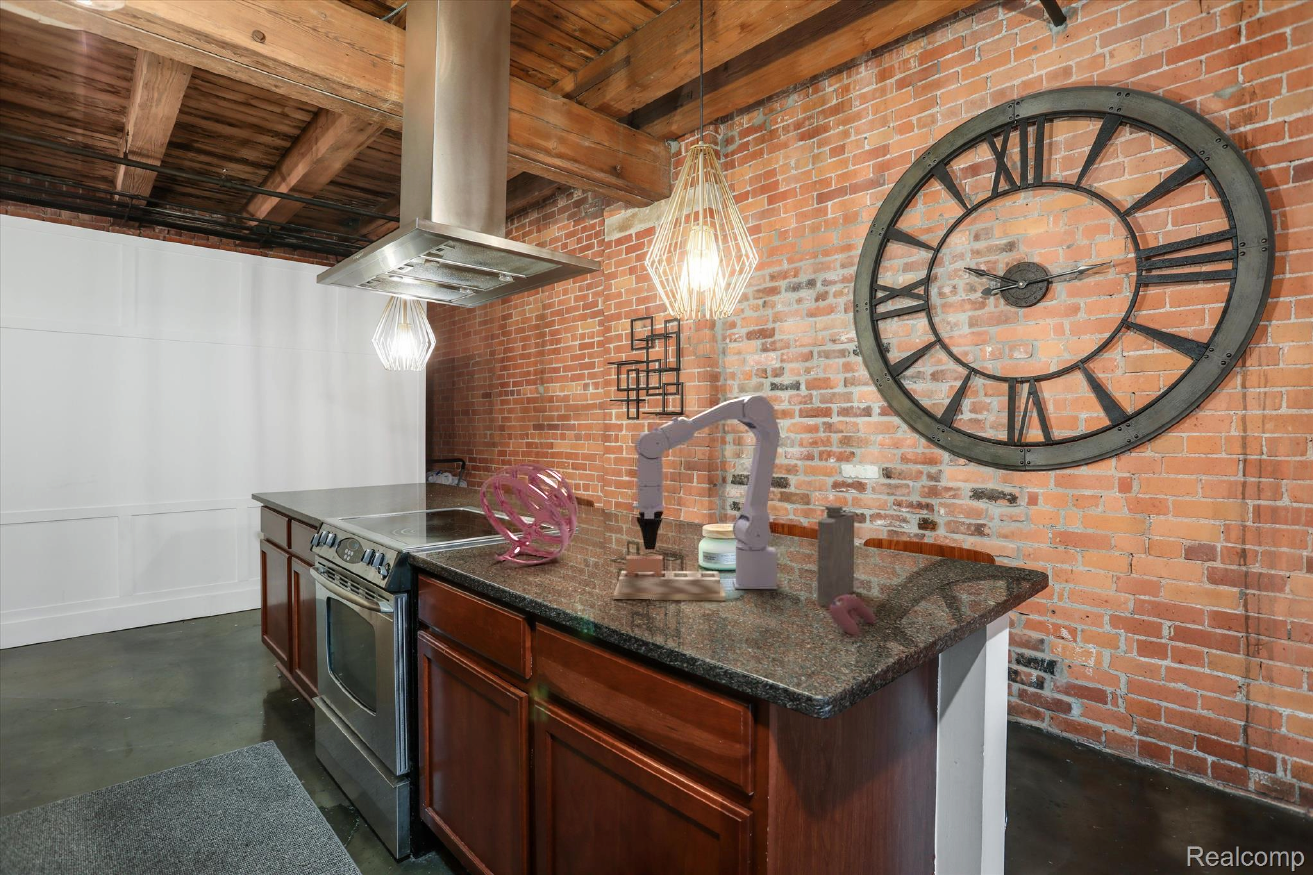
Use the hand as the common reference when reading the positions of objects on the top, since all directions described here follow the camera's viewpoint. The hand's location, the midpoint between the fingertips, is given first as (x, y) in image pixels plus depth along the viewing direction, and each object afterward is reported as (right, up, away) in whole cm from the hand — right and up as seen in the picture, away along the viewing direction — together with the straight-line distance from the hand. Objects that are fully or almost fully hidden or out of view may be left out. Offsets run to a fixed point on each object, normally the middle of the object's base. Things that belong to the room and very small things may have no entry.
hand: (650, 545), depth 144 cm
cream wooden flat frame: (+4, -10, -1) cm, 11 cm away
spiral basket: (-33, -10, +32) cm, 47 cm away
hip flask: (+40, -11, -4) cm, 42 cm away
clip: (-1, -9, -1) cm, 10 cm away
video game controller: (+38, -11, -24) cm, 46 cm away
